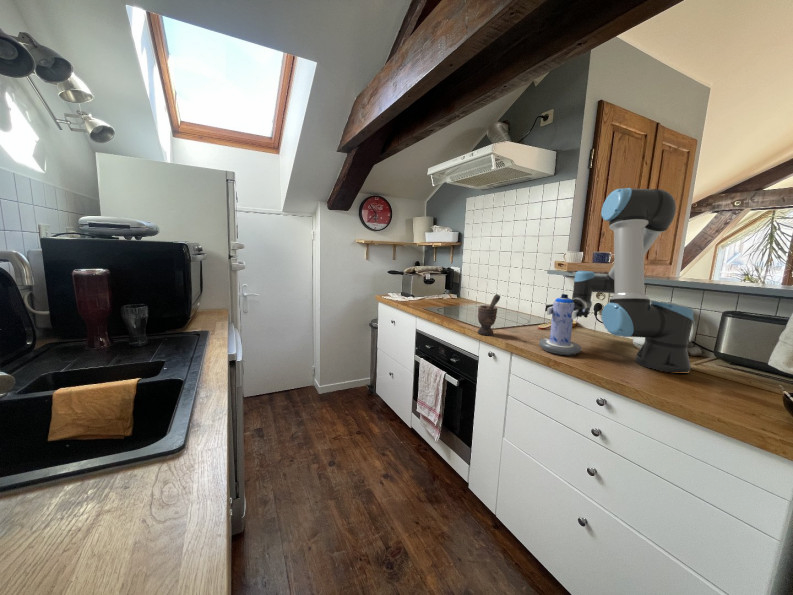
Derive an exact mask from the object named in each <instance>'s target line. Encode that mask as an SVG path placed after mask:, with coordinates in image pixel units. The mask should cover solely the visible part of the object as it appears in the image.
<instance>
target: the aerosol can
mask: <svg viewBox="0 0 793 595" xmlns="http://www.w3.org/2000/svg"><path fill="white" fill-rule="evenodd" d="M571 299H572V298H570V297H569V294H566V293H562V294H561V295H560V296H559V297H557V298H555V300H553V302H552V304H553V312H552V314H551V325H550V334H549V338H550V340H549V343H551V344H554V345H559V346H570V345H571V343H570V342H572V341H571V340H572V333H573V324H574V322H573V321H574V319H572V312H573V311H574V306H575V305H574V302H573V301H572V300H571Z"/></svg>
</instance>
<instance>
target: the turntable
mask: <svg viewBox="0 0 793 595" xmlns="http://www.w3.org/2000/svg"><path fill="white" fill-rule="evenodd" d="M549 340H550V337H549V338H540V339H539V341H538V345H539V347H541V348H542V349H543V348H545V349H548V350H551V351H555V352H561V353H576V354H579V353H581V352H582V350H581V349H582V346H581V345H580V344H578V343H576V342H573V341H571V342H570V343H571V345H570V346H559V345H554V344H551V343H549Z"/></svg>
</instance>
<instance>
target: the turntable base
mask: <svg viewBox="0 0 793 595" xmlns="http://www.w3.org/2000/svg"><path fill="white" fill-rule="evenodd" d="M542 350H543V351H544V352H546V353H548V354H549V353H550V354H552V355H556V356H562V355H566V356H565V357H572V355H574V356H575V355H576V354H577V353H561V352H555V351H551V350H548V349H545V348H543V347H542Z"/></svg>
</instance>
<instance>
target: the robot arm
mask: <svg viewBox="0 0 793 595" xmlns="http://www.w3.org/2000/svg"><path fill="white" fill-rule="evenodd" d="M601 207H602V208H601V212H600V213H601V218H602V219H603V221H606V222H608V228H609V230H611V231H613V248H614V249H613V254H614V256H613V257H614V258H613V261H614V262H613V263H614V264H613V265H612V267H611V268H610V270H609V271H608V273H607V275H606V276H605V275H603V276H602V275H595V272H594V271H589V270H587V271H586V270H578V271H576V272H575V276H574V279H573V289H572V297H571V298H570V299H571V300H572V301H573V302H574V305H575V306H574V311H573V312H572V319H573V320H575V319H577V318H582V317H583V318H584V319H585V318H588V316H589V315H590V313H591V308H592V306H593V303H592V296H593V295H592V294H593V293H601V294H602V293H603V294H604V293H605V294H606V293H607V294H613V295H612V296H611V297H610V298H609V302H608V303H606V304H605V305H604V306H603V308H602V309H603V310H602V311H601V320H602V324H603V327H604V328H605V329H606V330H607V332H608V333H609V334H611V335H613V336H618V337H624V338H625V337H626V338H629V337H630V338H644V342H643V344H642V346H641V347H640V348H639V350H638V352H637V353H636V355H635V360H634V361H635V363H636V364H638V365H640V366H642V367H644V366H645V367H644V368H647V367H648V369H650V368H652V369H651V370H654V369H656V370H655V371H657V370H662V371H667V372H688V371H690V372H691V366H692V364H691V362H690V356H689V352H688V348H689V346H688V345H689V340H690V336H691V332H692V327H693V323H694V314H695V312H694V310H693V309H692V308H691V307H688V306H684V305H679V304H675V303H674V304H673V303H667V302H663V301H656V300H652V301H651V298H649V297H648V296H647V295H646V294H645V259H644V256H645V255H646V254H647V253H648V251H649V249H650V248H651V247H652V245H653V244H654V243H655V241H656V240H657V239H658V237H659V236H660V234H661V233H663V232H666V231H667V230H668V229H669V227H670V225H672V223H673V221H674V218H675V216H676V211H677V205H676V200H675V198H674V196H673V195H672V194H671V193H670V192H668V191H667V190H664V189H659V188H631V187H626V188H617V189H614V190H613V191H611V192H610V193H609V194H608V195H607V197H606V198H605V200H604V202H603V204H602V206H601ZM544 311H545V312H546V315H547V316H549V315H550V316H551V315H552V312H553V303H551V304H545V309H544ZM662 371H661V372H662ZM667 372H666V373H667Z"/></svg>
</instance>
